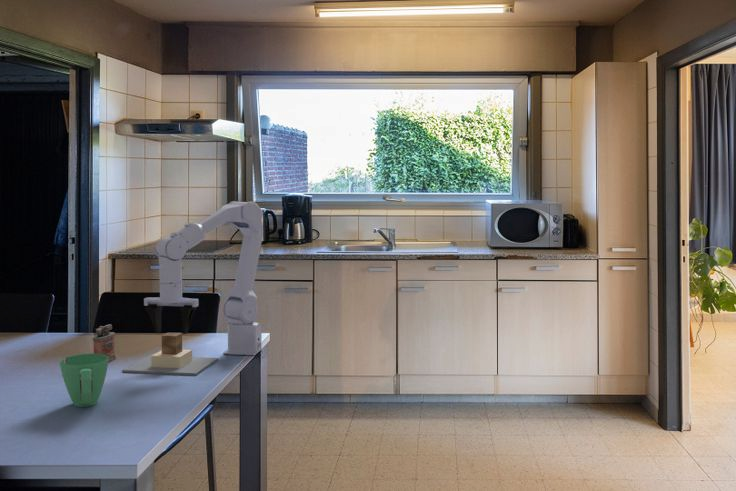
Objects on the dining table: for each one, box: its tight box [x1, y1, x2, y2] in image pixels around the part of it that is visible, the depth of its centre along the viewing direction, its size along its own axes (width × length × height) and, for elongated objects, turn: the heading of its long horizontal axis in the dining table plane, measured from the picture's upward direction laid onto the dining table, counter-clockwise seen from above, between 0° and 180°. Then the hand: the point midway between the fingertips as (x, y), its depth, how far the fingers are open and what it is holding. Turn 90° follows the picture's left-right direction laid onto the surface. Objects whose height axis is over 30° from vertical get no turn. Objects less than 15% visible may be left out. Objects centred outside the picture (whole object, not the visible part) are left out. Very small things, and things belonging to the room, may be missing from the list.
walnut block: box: [161, 332, 183, 355], centre depth 178 cm, size 4×4×5 cm
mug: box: [59, 353, 109, 408], centre depth 144 cm, size 15×10×10 cm
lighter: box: [92, 323, 116, 364], centre depth 182 cm, size 8×3×10 cm, turn 168°
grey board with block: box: [121, 348, 219, 377], centre depth 178 cm, size 20×16×4 cm
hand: (171, 332), depth 178 cm, fingers open, 7 cm apart
